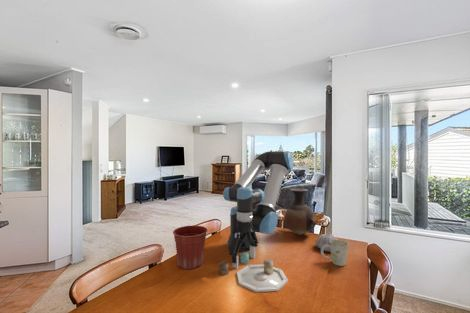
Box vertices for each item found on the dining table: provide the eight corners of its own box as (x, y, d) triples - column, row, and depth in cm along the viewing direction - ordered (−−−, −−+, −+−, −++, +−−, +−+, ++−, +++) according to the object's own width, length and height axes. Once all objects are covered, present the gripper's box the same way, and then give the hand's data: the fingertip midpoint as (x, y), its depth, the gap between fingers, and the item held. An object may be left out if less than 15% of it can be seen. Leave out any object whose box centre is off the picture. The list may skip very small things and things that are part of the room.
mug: (350, 268, 109) (350, 246, 109) (322, 265, 112) (322, 244, 112) (345, 260, 117) (345, 240, 117) (319, 257, 120) (319, 238, 120)
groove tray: (228, 281, 97) (228, 277, 97) (255, 264, 113) (255, 260, 113) (269, 300, 85) (269, 295, 85) (294, 278, 100) (294, 274, 100)
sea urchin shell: (337, 244, 138) (337, 231, 137) (344, 254, 124) (344, 239, 124) (313, 243, 140) (313, 229, 140) (317, 252, 127) (317, 237, 126)
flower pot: (166, 263, 113) (166, 230, 113) (193, 253, 125) (193, 223, 125) (186, 275, 102) (186, 239, 102) (214, 263, 114) (214, 230, 114)
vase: (322, 240, 145) (322, 191, 144) (292, 242, 142) (292, 192, 141) (304, 228, 167) (305, 186, 167) (279, 230, 164) (279, 187, 164)
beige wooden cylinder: (262, 272, 103) (262, 261, 103) (266, 269, 106) (266, 258, 106) (269, 275, 100) (269, 264, 100) (274, 272, 103) (274, 260, 103)
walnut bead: (217, 275, 102) (217, 264, 102) (223, 271, 105) (223, 260, 105) (224, 278, 100) (224, 266, 100) (230, 274, 103) (230, 263, 103)
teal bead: (238, 264, 113) (238, 254, 113) (243, 261, 116) (243, 251, 116) (245, 267, 110) (245, 256, 110) (250, 264, 113) (250, 253, 113)
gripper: (234, 227, 100) (233, 277, 101) (265, 216, 120) (264, 257, 120) (221, 224, 105) (221, 271, 105) (253, 213, 125) (252, 253, 125)
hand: (244, 264), depth 113 cm, fingers open, 13 cm apart
